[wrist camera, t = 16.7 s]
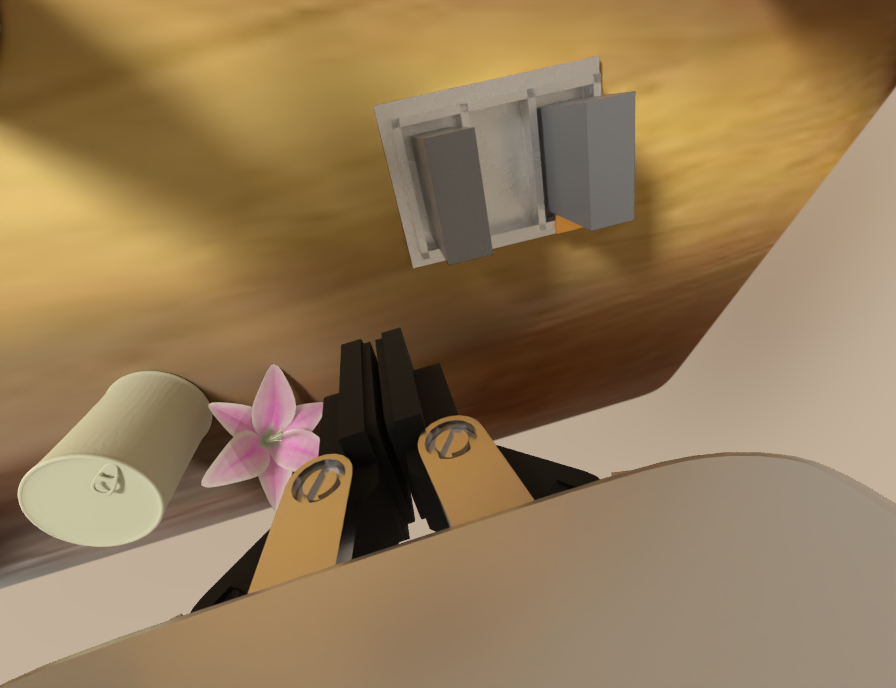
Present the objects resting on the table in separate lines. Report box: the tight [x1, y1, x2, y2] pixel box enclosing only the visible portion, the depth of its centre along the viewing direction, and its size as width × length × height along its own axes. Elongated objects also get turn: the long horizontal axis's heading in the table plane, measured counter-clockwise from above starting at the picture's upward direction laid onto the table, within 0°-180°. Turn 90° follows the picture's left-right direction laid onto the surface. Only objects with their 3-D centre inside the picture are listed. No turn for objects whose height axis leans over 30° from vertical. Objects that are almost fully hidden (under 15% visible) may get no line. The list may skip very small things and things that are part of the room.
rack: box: [373, 56, 601, 268], centre depth 32 cm, size 13×18×10 cm
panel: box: [536, 91, 635, 231], centre depth 32 cm, size 8×3×9 cm, turn 12°
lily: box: [202, 364, 323, 510], centre depth 40 cm, size 12×12×10 cm
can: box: [18, 371, 212, 547], centre depth 36 cm, size 9×9×12 cm
